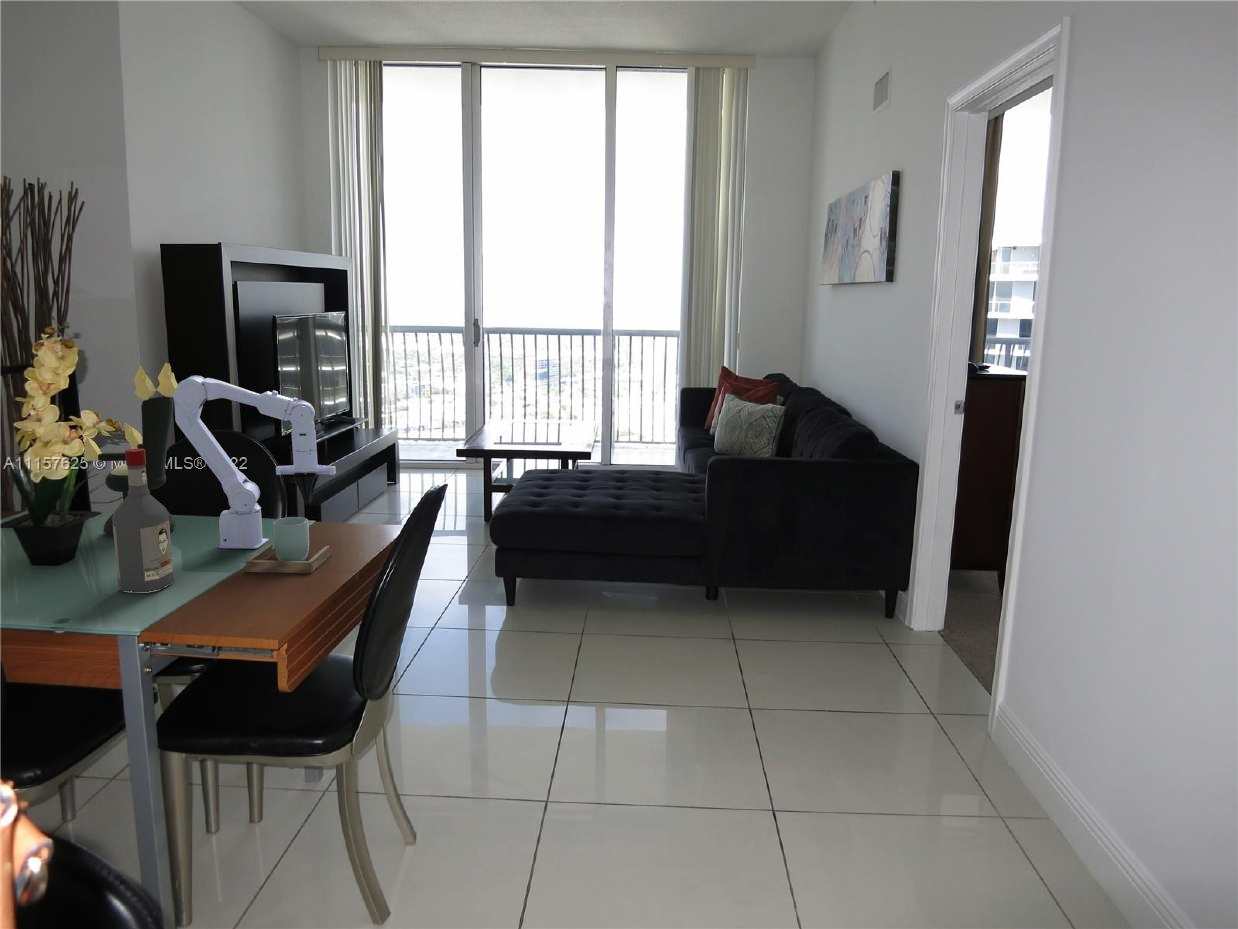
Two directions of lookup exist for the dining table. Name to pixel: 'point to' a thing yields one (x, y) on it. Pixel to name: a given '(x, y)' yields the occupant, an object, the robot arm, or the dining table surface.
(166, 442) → the flowering cactus
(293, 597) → the dining table surface
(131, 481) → the liquor
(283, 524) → the cup
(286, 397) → the robot arm
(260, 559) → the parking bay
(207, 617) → the dining table surface
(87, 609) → the dining table surface
